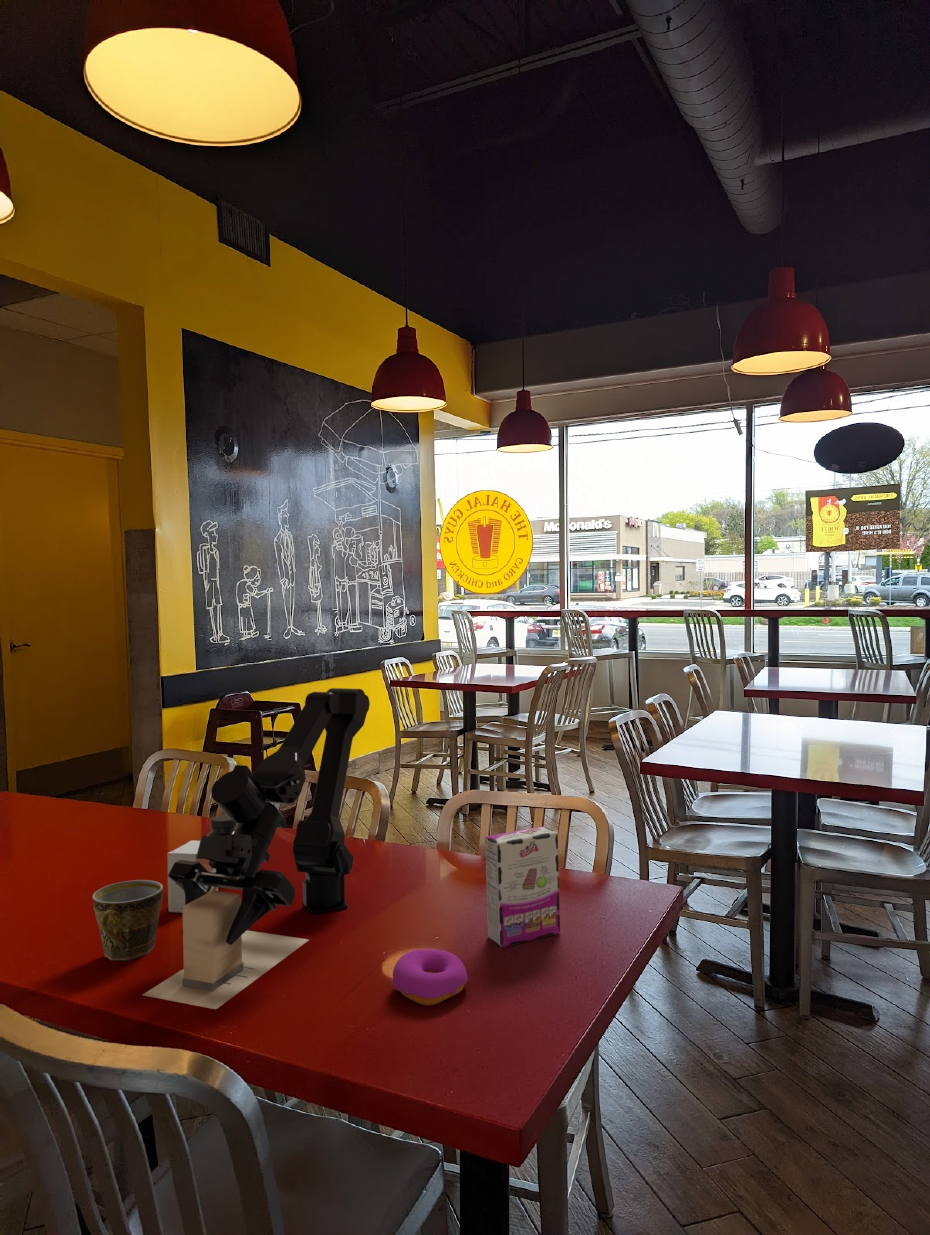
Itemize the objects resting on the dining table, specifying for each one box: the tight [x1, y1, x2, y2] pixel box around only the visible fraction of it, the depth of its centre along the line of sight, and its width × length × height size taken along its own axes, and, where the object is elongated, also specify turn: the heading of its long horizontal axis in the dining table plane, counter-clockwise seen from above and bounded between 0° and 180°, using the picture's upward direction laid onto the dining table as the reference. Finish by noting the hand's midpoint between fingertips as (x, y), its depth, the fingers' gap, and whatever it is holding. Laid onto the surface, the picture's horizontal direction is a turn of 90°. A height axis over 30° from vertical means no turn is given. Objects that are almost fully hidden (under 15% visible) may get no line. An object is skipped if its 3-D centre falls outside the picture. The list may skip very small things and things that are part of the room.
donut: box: [392, 948, 468, 1006], centre depth 112 cm, size 10×10×5 cm
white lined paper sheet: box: [142, 929, 310, 1010], centre depth 118 cm, size 23×12×1 cm, turn 160°
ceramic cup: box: [92, 879, 164, 961], centre depth 122 cm, size 13×10×10 cm
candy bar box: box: [484, 826, 561, 948], centre depth 129 cm, size 11×5×16 cm, turn 117°
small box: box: [166, 840, 219, 914], centre depth 145 cm, size 8×6×10 cm
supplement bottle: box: [206, 814, 238, 838], centre depth 159 cm, size 7×7×12 cm
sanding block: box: [182, 890, 244, 992], centre depth 114 cm, size 7×5×11 cm
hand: (206, 940), depth 113 cm, fingers open, 7 cm apart
